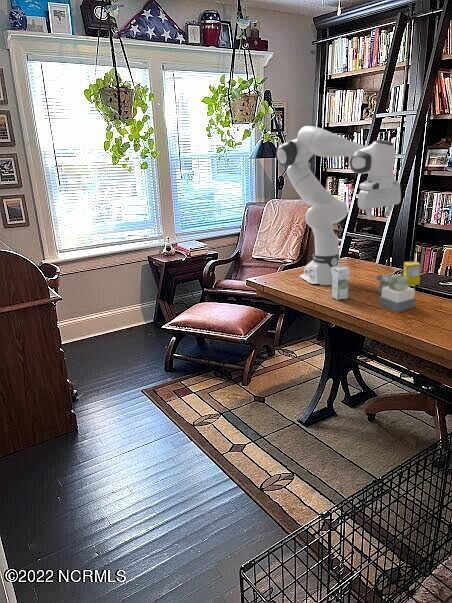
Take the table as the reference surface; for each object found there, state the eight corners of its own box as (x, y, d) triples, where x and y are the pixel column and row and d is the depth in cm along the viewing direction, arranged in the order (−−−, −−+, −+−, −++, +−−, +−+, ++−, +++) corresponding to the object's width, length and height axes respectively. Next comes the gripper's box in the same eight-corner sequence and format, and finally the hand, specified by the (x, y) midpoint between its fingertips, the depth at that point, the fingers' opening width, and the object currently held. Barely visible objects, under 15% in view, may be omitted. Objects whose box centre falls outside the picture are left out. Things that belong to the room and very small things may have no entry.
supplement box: (415, 283, 212) (417, 261, 209) (419, 287, 207) (421, 264, 203) (402, 284, 213) (403, 261, 209) (405, 288, 207) (407, 265, 204)
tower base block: (378, 305, 190) (379, 296, 189) (396, 300, 194) (396, 292, 193) (397, 312, 182) (397, 303, 180) (415, 307, 186) (415, 298, 184)
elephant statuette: (381, 297, 200) (383, 280, 197) (368, 287, 211) (369, 272, 208) (400, 294, 201) (402, 278, 198) (386, 285, 212) (387, 270, 209)
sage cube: (388, 288, 186) (389, 276, 185) (397, 285, 188) (398, 274, 187) (398, 291, 182) (398, 279, 180) (407, 288, 184) (407, 277, 182)
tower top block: (381, 296, 189) (381, 287, 188) (397, 292, 192) (398, 283, 191) (397, 302, 181) (398, 293, 180) (414, 298, 185) (414, 288, 183)
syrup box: (341, 295, 205) (342, 264, 200) (349, 299, 199) (349, 267, 194) (330, 297, 203) (330, 266, 198) (337, 301, 198) (338, 269, 193)
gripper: (394, 180, 187) (391, 213, 192) (356, 185, 179) (354, 219, 184) (406, 181, 182) (402, 215, 187) (367, 186, 173) (365, 222, 178)
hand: (378, 217), depth 185 cm, fingers open, 8 cm apart
